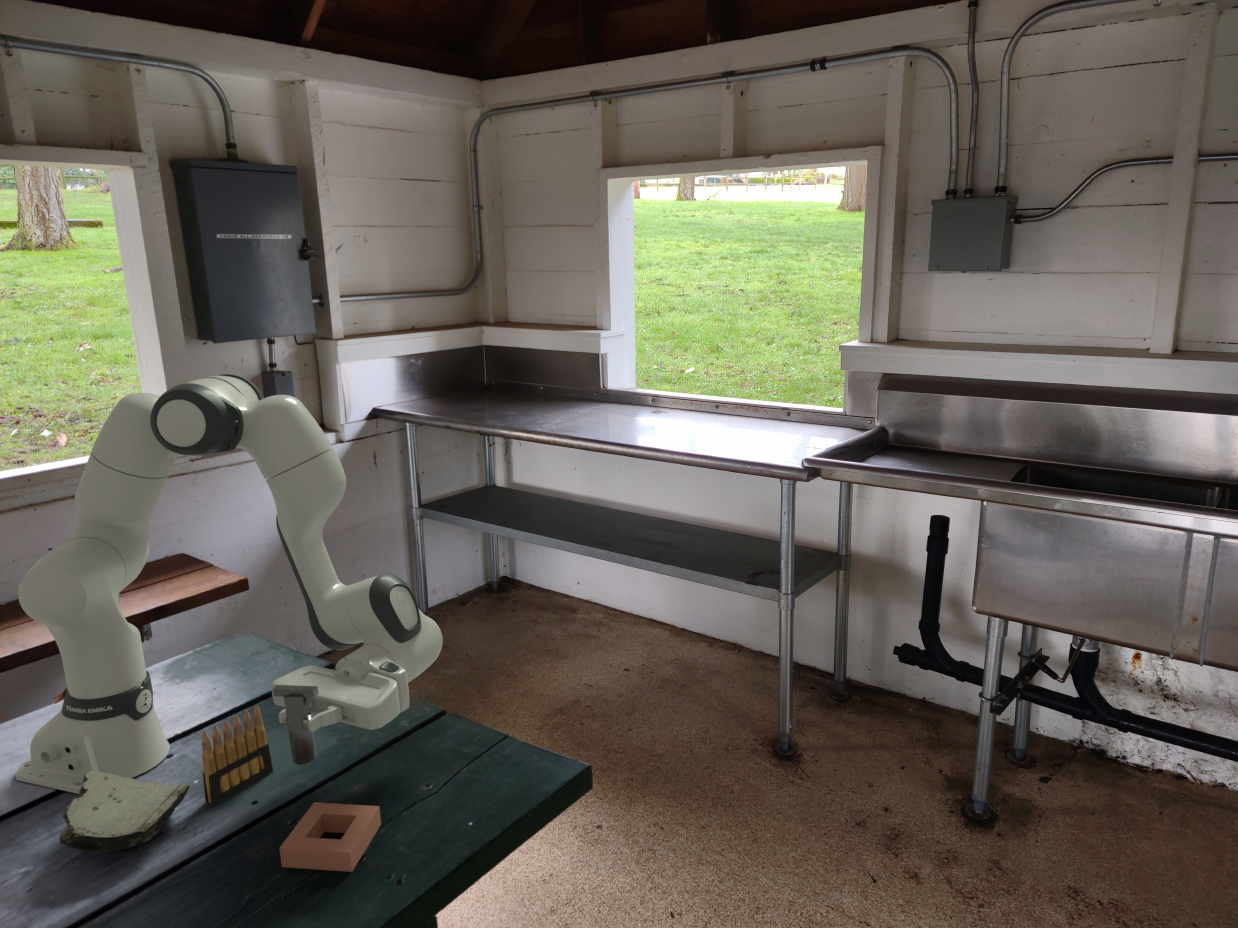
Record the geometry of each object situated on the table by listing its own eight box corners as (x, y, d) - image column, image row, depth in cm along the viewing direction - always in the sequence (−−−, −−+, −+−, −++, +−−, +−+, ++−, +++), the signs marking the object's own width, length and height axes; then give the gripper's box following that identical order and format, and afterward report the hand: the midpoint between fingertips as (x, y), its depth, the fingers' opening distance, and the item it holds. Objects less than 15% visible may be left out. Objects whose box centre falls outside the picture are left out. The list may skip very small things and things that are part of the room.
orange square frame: (281, 866, 115) (279, 847, 114) (316, 820, 125) (314, 802, 124) (352, 871, 114) (350, 852, 113) (381, 823, 124) (379, 805, 123)
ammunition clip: (212, 806, 129) (202, 735, 126) (205, 802, 130) (194, 731, 127) (273, 771, 137) (265, 703, 135) (266, 767, 138) (257, 700, 136)
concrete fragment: (202, 785, 130) (160, 784, 116) (174, 858, 126) (127, 866, 112) (110, 763, 130) (57, 759, 116) (80, 835, 126) (21, 841, 112)
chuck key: (279, 763, 119) (268, 692, 117) (290, 750, 122) (280, 681, 120) (319, 765, 118) (309, 694, 116) (329, 752, 122) (320, 682, 119)
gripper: (310, 648, 134) (238, 688, 122) (414, 671, 125) (347, 716, 113) (315, 684, 135) (244, 727, 123) (417, 709, 127) (352, 758, 115)
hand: (294, 722), depth 118 cm, fingers closed on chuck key, 3 cm apart
